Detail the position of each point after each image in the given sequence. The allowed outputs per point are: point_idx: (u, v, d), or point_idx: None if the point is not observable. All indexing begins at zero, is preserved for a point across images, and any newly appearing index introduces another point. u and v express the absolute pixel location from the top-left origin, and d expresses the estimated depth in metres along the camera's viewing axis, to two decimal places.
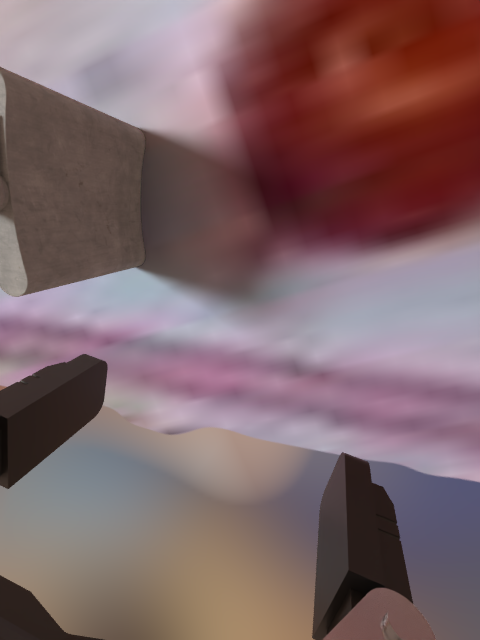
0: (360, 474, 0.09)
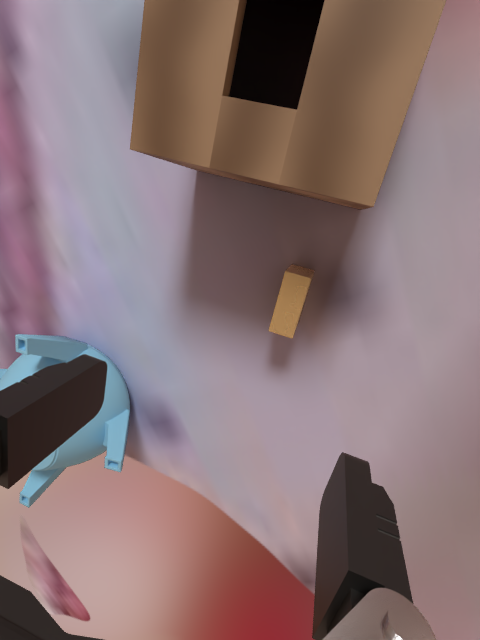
0: (360, 474, 0.09)
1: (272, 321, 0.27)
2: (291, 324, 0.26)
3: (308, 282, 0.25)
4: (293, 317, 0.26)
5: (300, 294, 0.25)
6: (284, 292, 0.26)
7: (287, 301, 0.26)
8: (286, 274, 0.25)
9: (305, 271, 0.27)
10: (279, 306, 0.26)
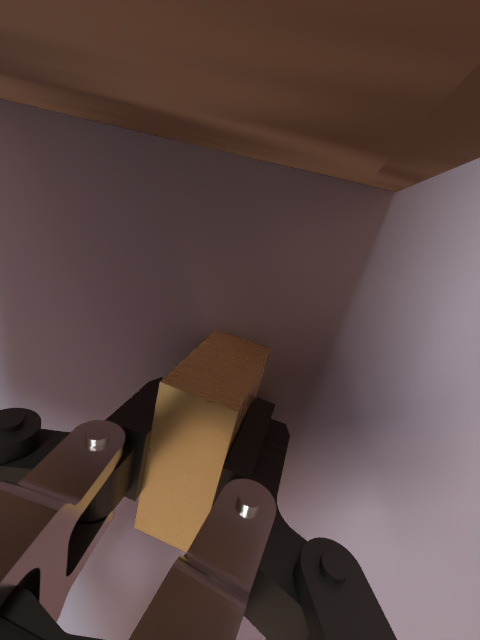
0: (263, 411, 0.10)
1: (141, 507, 0.09)
2: (191, 524, 0.09)
3: (231, 421, 0.08)
4: (195, 508, 0.09)
5: (209, 452, 0.08)
6: (164, 440, 0.08)
7: (176, 464, 0.09)
8: (164, 392, 0.08)
9: (238, 362, 0.10)
10: (154, 474, 0.09)
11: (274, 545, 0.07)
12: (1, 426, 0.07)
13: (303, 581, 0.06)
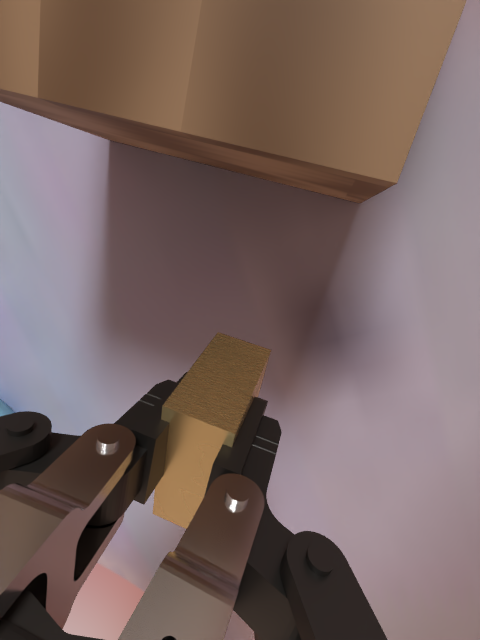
0: (255, 407, 0.10)
1: (157, 499, 0.11)
2: None
3: (229, 441, 0.08)
4: None
5: (212, 463, 0.09)
6: (171, 451, 0.09)
7: (183, 470, 0.10)
8: (167, 414, 0.09)
9: (238, 373, 0.10)
10: (165, 476, 0.10)
11: (262, 539, 0.07)
12: (12, 430, 0.07)
13: (290, 575, 0.06)
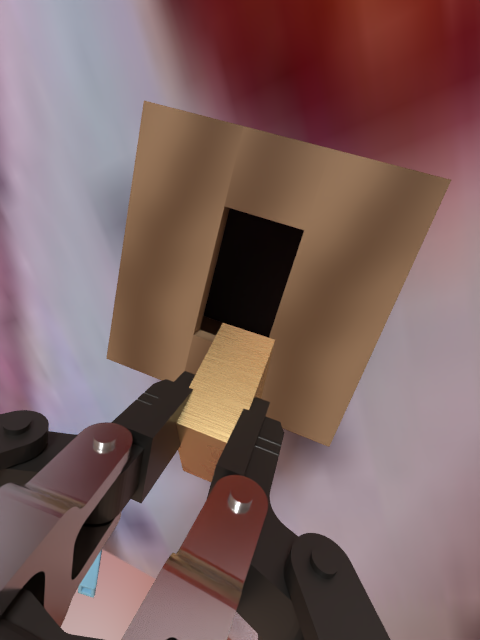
0: (257, 409, 0.10)
1: (184, 465, 0.13)
2: None
3: None
4: None
5: None
6: (186, 444, 0.11)
7: (199, 455, 0.11)
8: None
9: (241, 373, 0.11)
10: (186, 455, 0.12)
11: (266, 541, 0.07)
12: (9, 429, 0.07)
13: (294, 577, 0.06)
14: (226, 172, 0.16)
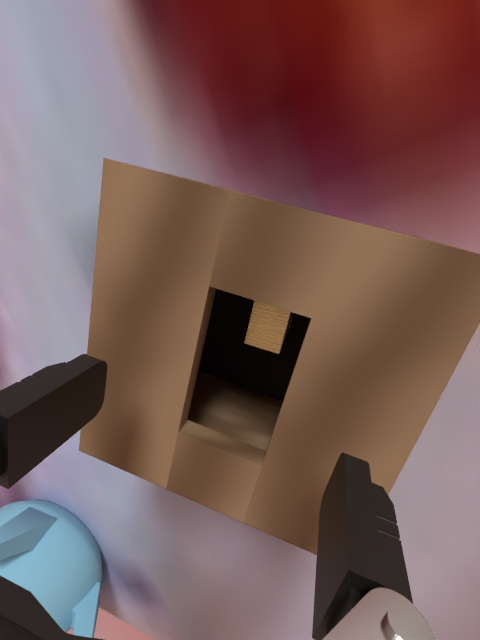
0: (360, 474, 0.09)
1: None
2: None
3: None
4: None
5: None
6: None
7: None
8: None
9: (277, 312, 0.18)
10: None
11: None
12: None
13: None
14: (209, 246, 0.12)
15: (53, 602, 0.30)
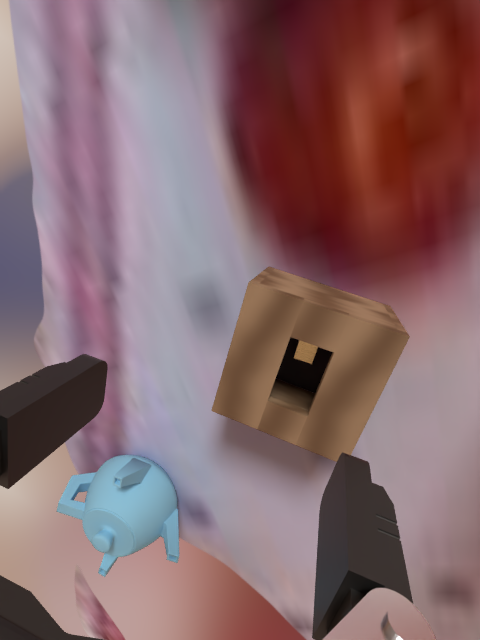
0: (360, 474, 0.09)
1: (298, 344, 0.40)
2: None
3: None
4: None
5: None
6: None
7: None
8: (295, 357, 0.36)
9: None
10: None
11: None
12: None
13: None
14: (292, 321, 0.29)
15: (154, 516, 0.47)
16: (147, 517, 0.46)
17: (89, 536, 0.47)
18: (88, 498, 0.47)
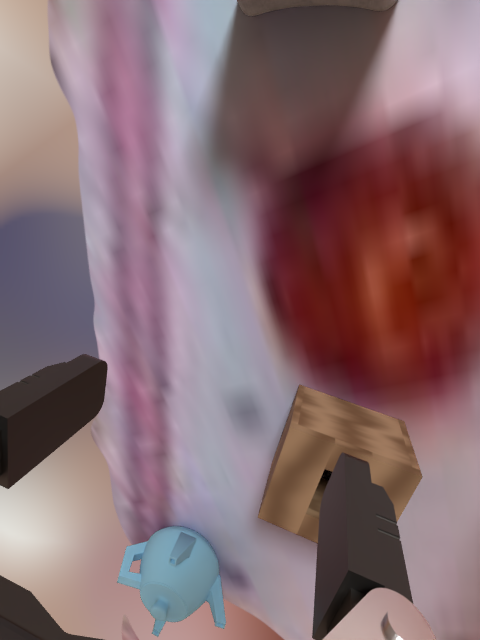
0: (360, 474, 0.09)
1: None
2: None
3: None
4: None
5: None
6: None
7: None
8: None
9: None
10: None
11: None
12: None
13: None
14: (326, 457, 0.36)
15: (202, 586, 0.54)
16: (196, 588, 0.53)
17: (146, 604, 0.54)
18: (144, 570, 0.55)
